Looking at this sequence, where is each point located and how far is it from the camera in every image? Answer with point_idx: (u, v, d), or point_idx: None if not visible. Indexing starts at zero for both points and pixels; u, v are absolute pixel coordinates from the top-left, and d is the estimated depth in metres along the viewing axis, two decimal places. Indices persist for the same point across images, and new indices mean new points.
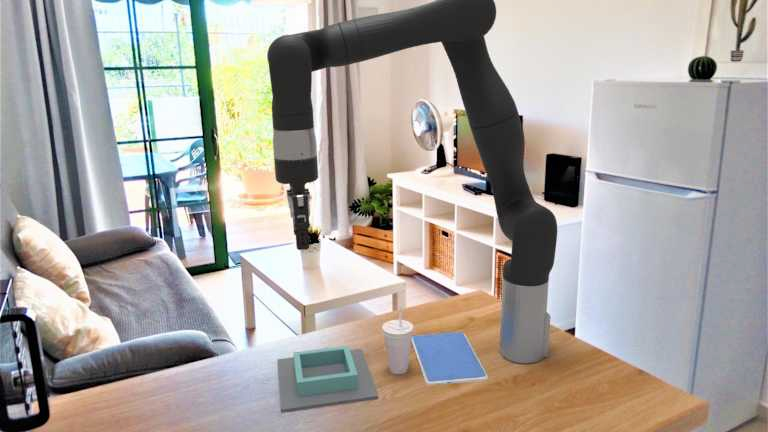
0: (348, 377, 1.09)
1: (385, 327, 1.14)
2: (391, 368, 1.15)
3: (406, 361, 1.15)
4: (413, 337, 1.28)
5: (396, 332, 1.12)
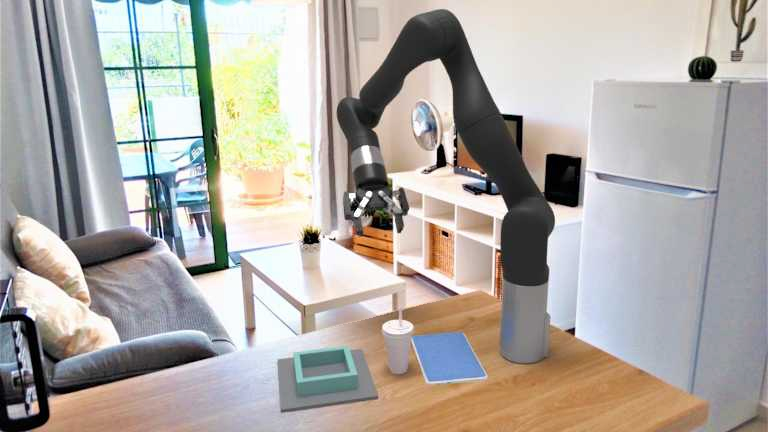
0: (348, 377, 1.09)
1: (385, 327, 1.14)
2: (391, 368, 1.15)
3: (406, 361, 1.15)
4: (413, 337, 1.28)
5: (396, 332, 1.12)
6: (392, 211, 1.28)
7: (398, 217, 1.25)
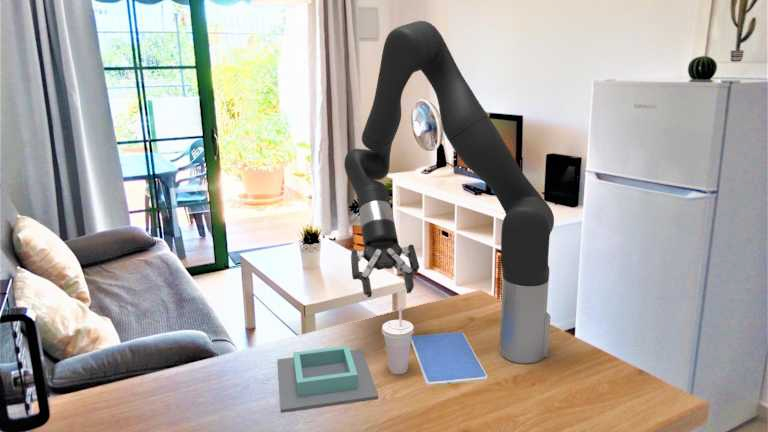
0: (348, 377, 1.09)
1: (385, 327, 1.14)
2: (391, 368, 1.15)
3: (406, 361, 1.15)
4: (412, 337, 1.28)
5: (396, 332, 1.12)
6: (401, 269, 1.24)
7: (408, 277, 1.21)
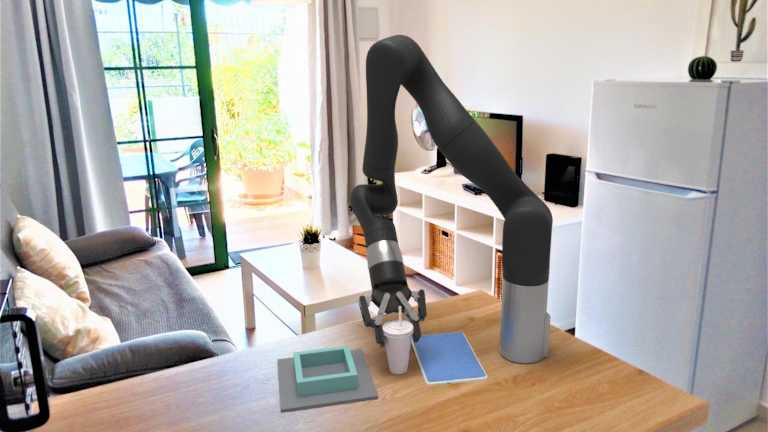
0: (348, 377, 1.09)
1: (385, 327, 1.14)
2: (391, 368, 1.15)
3: (406, 361, 1.15)
4: (412, 337, 1.28)
5: (396, 332, 1.12)
6: (409, 315, 1.17)
7: (415, 325, 1.15)
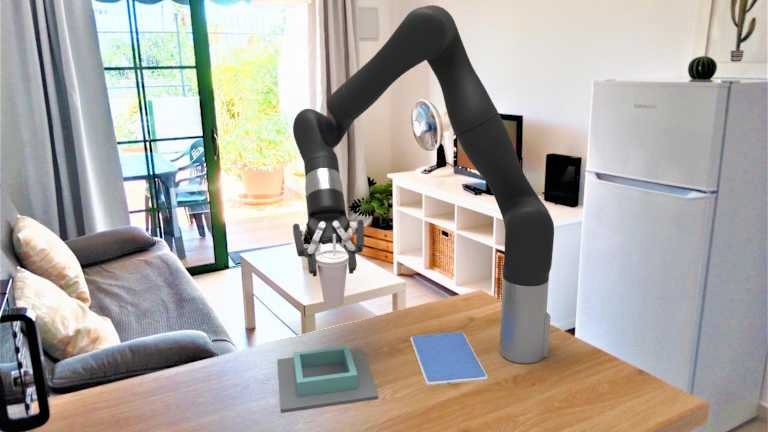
0: (348, 377, 1.09)
1: (318, 256, 1.08)
2: (325, 300, 1.09)
3: (341, 293, 1.09)
4: (413, 337, 1.28)
5: (329, 260, 1.06)
6: (346, 246, 1.11)
7: (350, 255, 1.08)
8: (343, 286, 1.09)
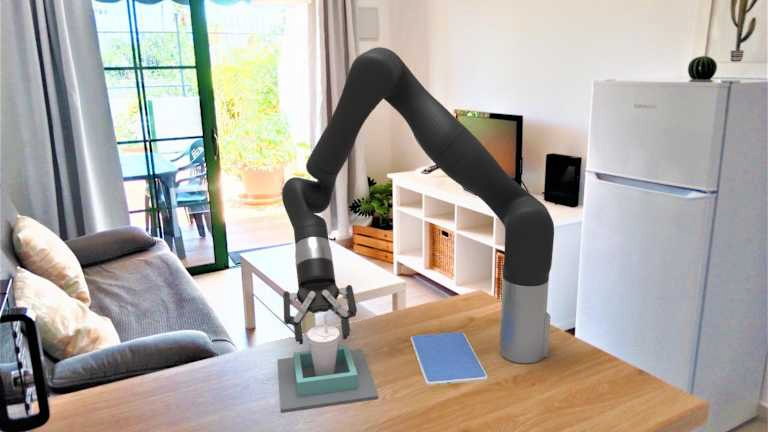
0: (348, 377, 1.09)
1: (310, 333, 1.11)
2: (317, 374, 1.13)
3: (332, 368, 1.12)
4: (413, 337, 1.28)
5: (320, 339, 1.09)
6: (338, 312, 1.14)
7: (343, 321, 1.12)
8: (334, 361, 1.12)
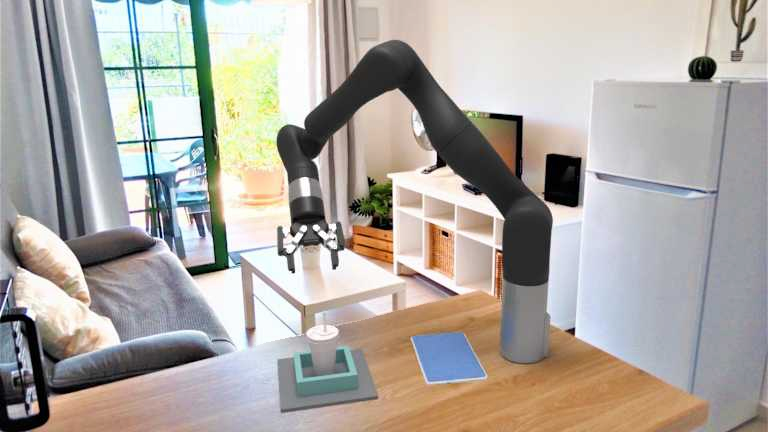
0: (348, 377, 1.09)
1: (309, 333, 1.11)
2: (317, 375, 1.13)
3: (331, 367, 1.12)
4: (413, 337, 1.28)
5: (319, 338, 1.09)
6: (328, 246, 1.23)
7: (333, 253, 1.21)
8: (334, 360, 1.12)
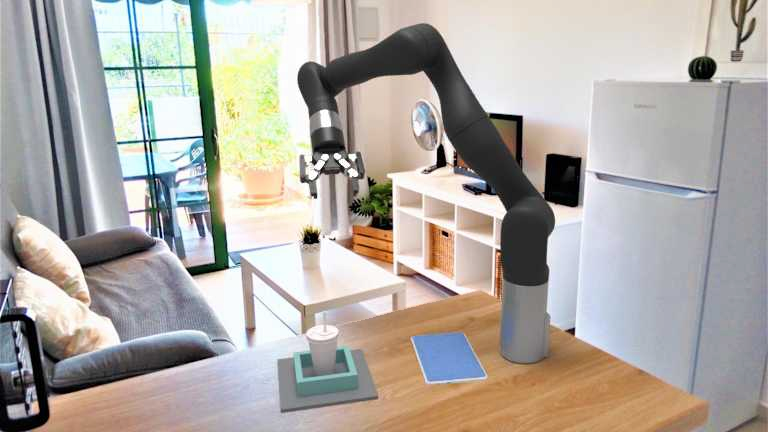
0: (348, 377, 1.09)
1: (309, 333, 1.11)
2: (317, 375, 1.13)
3: (331, 367, 1.12)
4: (413, 337, 1.29)
5: (319, 338, 1.09)
6: (348, 175, 1.28)
7: (353, 180, 1.25)
8: (334, 360, 1.12)
